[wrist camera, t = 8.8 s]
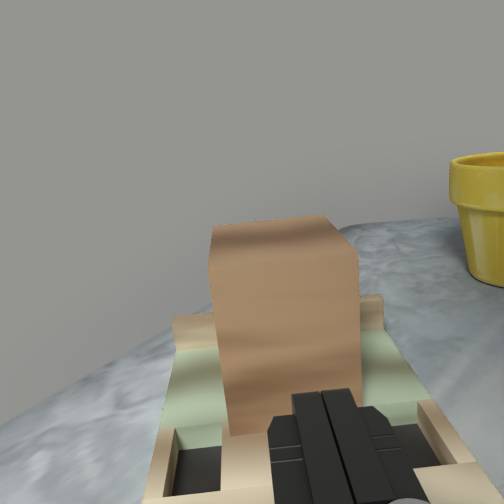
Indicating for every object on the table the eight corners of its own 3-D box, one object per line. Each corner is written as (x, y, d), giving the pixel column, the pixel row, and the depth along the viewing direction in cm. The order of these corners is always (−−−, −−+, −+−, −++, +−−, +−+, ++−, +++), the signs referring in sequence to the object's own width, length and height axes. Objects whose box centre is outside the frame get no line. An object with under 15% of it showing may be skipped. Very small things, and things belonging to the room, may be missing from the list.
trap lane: (656, 773, 10) (685, 671, 9) (87, 843, 10) (51, 748, 9) (379, 343, 29) (379, 294, 28) (181, 365, 29) (173, 316, 28)
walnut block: (363, 421, 20) (358, 252, 18) (230, 436, 20) (207, 269, 18) (329, 344, 27) (322, 214, 25) (229, 355, 27) (213, 225, 24)
